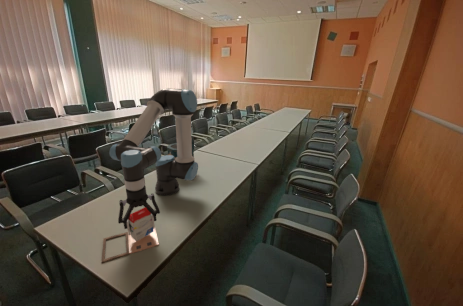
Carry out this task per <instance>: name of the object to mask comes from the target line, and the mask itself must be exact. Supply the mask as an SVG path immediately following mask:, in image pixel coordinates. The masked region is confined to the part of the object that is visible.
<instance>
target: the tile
mask: <svg viewBox="0 0 463 306" xmlns="http://www.w3.org/2000/svg"><path fill="white" fill-rule="evenodd" d="M130 234H131V233H130ZM128 242H129V255H131V254H135V253H139V252H140V251H144V250H148V249H150V248H154V247H157V246H160V243H159V239H158V235H157V230H156V227H155V228H154V229H153V232H152V233H150V234H148V235H147V236H145V237H143V238H142V239H140V240H138V241H135V240H134V239H133V238H132V237H131V235H129V234H128Z"/></svg>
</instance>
